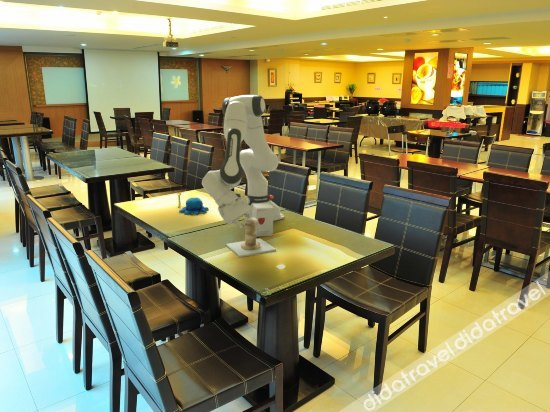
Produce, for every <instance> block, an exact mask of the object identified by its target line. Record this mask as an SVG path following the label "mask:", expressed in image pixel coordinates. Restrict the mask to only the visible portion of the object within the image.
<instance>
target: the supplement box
mask: <svg viewBox="0 0 550 412" xmlns="http://www.w3.org/2000/svg"><path fill="white" fill-rule="evenodd" d="M253 218H256V219H258V222H257V223H256V238H257V237H258V238H260V237H273V236H274V221H273V207H272V206H271V205H270V204H269V203H264V204H253Z"/></svg>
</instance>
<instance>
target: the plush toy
mask: <svg viewBox="0 0 550 412" xmlns="http://www.w3.org/2000/svg"><path fill="white" fill-rule="evenodd" d="M203 205H204V204H203V201H202V199H200V198H199V197H190V198H188V199H187V200H186V201H185V206H183V207H182V208H181V209H179V210H178V213H180V214H182V213H183V215H187V216H189V215H191V214H192V215H193V216H199V215H200V214H206V213H208V211H209V210H210V209H209V207H207V206H203Z"/></svg>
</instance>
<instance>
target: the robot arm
mask: <svg viewBox="0 0 550 412" xmlns="http://www.w3.org/2000/svg"><path fill="white" fill-rule="evenodd" d="M221 104H222V105H221V110H222V113H223V116H224V118H223V136H224V137H223V138H224V139H225V140H226V146H225V147H226V149H225V150H226V151H225V158H224V161H223V163H222V164H221V166H220V169H219V170H218V169H217V170H209V171H208V172H206V173H205V174H204V176H203V177H202V179H201V185H202V187H203V189H204V190H205V191H206V193H207V194H208V195H209V196H210V197H211V198H212V199H213V200H214V201H215V204H217V206H218V207H217V211H218V213H219V215H220V217H221V218H222V220H223V222H224V223H226V224H227V225H230V224H232V223H233V225H234V226H236V227H238V228H239V229H240V230H241V229H243V228H245V224H243V223H242V222H240V221H239V219H241V218H242V217H244V219H245V218H253V204H264V203H269V204H270V205H271V206H272V207H273V222H274V221H279V220H282V219H283V220H284V219H285V215H284V214H283V213H281V210H280V207H279V206H278V205H277V204H276V203H275V202H274V201H272V200H273V199H274V195H272V194H269V193H268V179H267V178H266V177H265V176H264V175H263V173H262V172H274V171H275V170H277V168H278V166H279V157H278V155H277V154H276V153H275V152H274V151H273V150H272V149H271V148H270V145H269V144H268V142H267V140H266V136H265V131H264V124H263V119H262V115H263V114H264V113H265V111H266V103H265V99H264V97H263V96H262V95H260V94H241V95H238V96H237V95H236V96H233V97H232V96H229V97H226V98H224V100H222V103H221ZM243 141H244V142H245V144H247V146H248V147H249V148H246V149H242V150H241V146H242V142H243ZM244 174H245V177H246V182H247V194H246V200H245V199H244V198H243V196H242V194H241V193H236V192H233V191H232V189H235V188H236V187H238V186H239V185H240V184H241V181H242V177H243V176H244Z"/></svg>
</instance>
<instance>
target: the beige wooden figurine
mask: <svg viewBox="0 0 550 412" xmlns="http://www.w3.org/2000/svg"><path fill="white" fill-rule="evenodd" d="M242 220H243V221H242V222H243V223H244V240H243V241H244V242H242V243H241V248H243V249H245V250H255V249H258V248H260V243H259V242H257V241H256V239H257V237H256V223H257V222H258V219H256V218H245V217H244V218H243V219H242Z"/></svg>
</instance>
